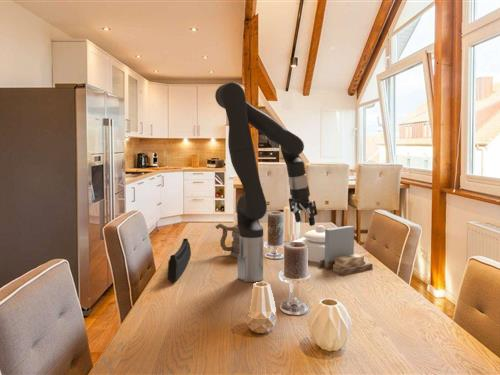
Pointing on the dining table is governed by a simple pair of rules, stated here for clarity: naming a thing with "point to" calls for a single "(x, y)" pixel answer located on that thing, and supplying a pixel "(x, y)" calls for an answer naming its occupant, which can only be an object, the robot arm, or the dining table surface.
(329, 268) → the walnut rack
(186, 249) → the black curved panel
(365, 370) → the dining table surface
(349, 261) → the offcut upper
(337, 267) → the offcut lower
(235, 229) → the tankard
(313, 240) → the butter dish
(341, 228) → the grey board
